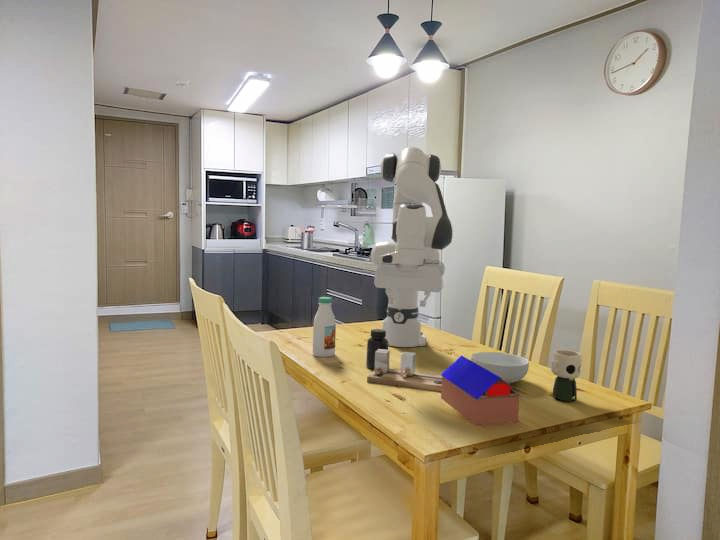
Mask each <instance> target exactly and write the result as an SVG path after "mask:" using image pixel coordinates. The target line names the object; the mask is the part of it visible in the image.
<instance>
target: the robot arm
mask: <svg viewBox="0 0 720 540" xmlns="http://www.w3.org/2000/svg"><path fill="white" fill-rule="evenodd" d="M440 159H441V158H439V157H438V155H434V154H431V153H429V154H426V153H425V152H424V151H423V150H422V149H421V148H418V147H415V146H410V147H407V148H405V149H403V150H402V151H401V152H399V153H395V152H391V153H387V154H385V155H384V156H383V158H382V160H381V164H380V173H381V176H382V178H383V180H384V181H386V182H390V183H395V185H396V187H395V191H394V198H393V207H392V222H391V223H392V231H391V232H392V234H391V240H392V241H391V240H388V241H379V242H376V243H375V244H374V246H373V247H372V249H371V252H370V259H371V263H372V264H373V265H374V267H375V272H374V281H373V285H374V286H375V288H377V289H385V294H386V296H387V298H388V303H387V307H386V318H384V319H383V320H382V325H381V329H382V330H385V331H386V337H385V338H386V339H387V340H388V346H391V347H397V348H415V347H425V346H427V344H426V343H427V341H426V335H425V334H423V331H421V328H422V327H421V326H422V325H421V321H420V319H419V313H420V312H419V307H421V308H423V307H424V308H426V307H427V300H428V299H429V297H430V296H431V293H440V292H441V291H443V290H444V289H443V288H444V279H443V275H444V274H445V269H446V267H445V264H444V263H443V262H441V261H440V252H439V250H440V251H443V250H444V249H446V248H447V247H448V246H450V244H451V243H452V239H453V236H454V229H453V226H452V221H451V220H450V218H449V216H448V213H447V209H446V205H445V201H444V198H443V194H442V191H441V188H440V185H439V184H438V183H437V182H438V181H439V178H440V176H441V175H442V169H443V168H442V162H441V160H440ZM423 204H425V205H428V206H429V208H430V211H431V213H432V214H431V215H432V216H427V211H426V206H425V205H423ZM419 292H424V296H425V297H424V298H423V299H420V301H419V303H420V304H419V307H418V300H419V299H418V298H419V297H418V296H419Z"/></svg>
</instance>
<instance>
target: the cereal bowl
mask: <svg viewBox="0 0 720 540" xmlns="http://www.w3.org/2000/svg"><path fill="white" fill-rule="evenodd" d="M470 360H471V361H472V362H474V363H476V364H478V365H479V366H481V367H483V368H485V369H487V370H488V371H490V372H492V373H494V374H495V375H497V376H499V377H501V378H502V379H503V380H504V381H505V382H506V383H507V384H508V385H511V384H512V383H514V382H518V381H521V380H522V379H524V378H525V376H527V374H528V372H529V369H530V368H529V367H530V361H529V359H527V358H525V357H523V356H521V355H517V354H512V353H508V352H500V351H498V352H497V351H484V352H475V353H473V354H472V355H471V359H470Z"/></svg>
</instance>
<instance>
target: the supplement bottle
mask: <svg viewBox="0 0 720 540" xmlns="http://www.w3.org/2000/svg"><path fill="white" fill-rule="evenodd" d="M385 337H386V331H385V330H382V328H373V329H371V331H370V337H369V338H368V339H367V342H366V364H365V365H366V367H367V368H368V369H371V370H375V352H376V351H377V350H378V349H384V350H389V345H388V340H387V339H386V338H385Z"/></svg>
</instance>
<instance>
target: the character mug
mask: <svg viewBox="0 0 720 540" xmlns="http://www.w3.org/2000/svg"><path fill="white" fill-rule="evenodd" d="M552 356H553V359H552V361H551V369H550V371H551V372H552V374H553V375H554V376H556V377H555V380H554V384H553V389H552V394H551V395H552V396H553V397H555V398H557V399H558V400H560V401H565V402H568V401H569V402H572V401H573V398H574V401H576V400H577V399H578V396H577V395H578V394H577V381H576V379H578V378H579V377H580V376H581V373H582V371H581V368H582V361H583V360H582V353H581V352H578V351H574V350H570V349H555V350H553V355H552Z"/></svg>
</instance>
